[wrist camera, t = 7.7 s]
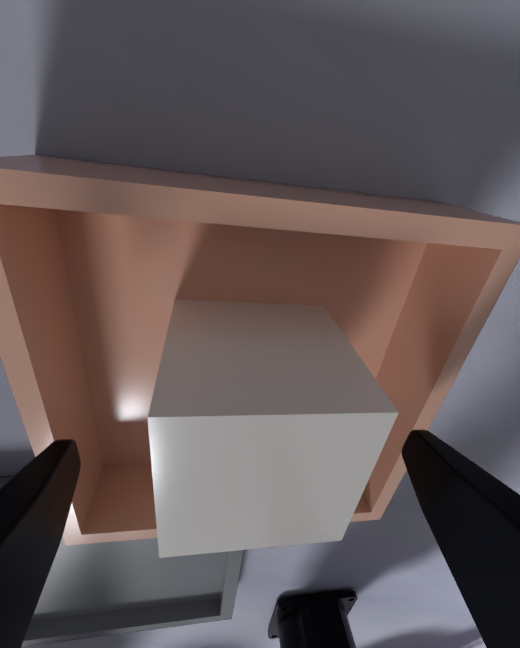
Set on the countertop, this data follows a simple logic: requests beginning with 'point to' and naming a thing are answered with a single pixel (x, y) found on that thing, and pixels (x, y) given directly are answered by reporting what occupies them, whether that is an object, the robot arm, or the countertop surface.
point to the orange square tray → (219, 285)
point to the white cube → (260, 428)
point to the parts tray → (130, 590)
